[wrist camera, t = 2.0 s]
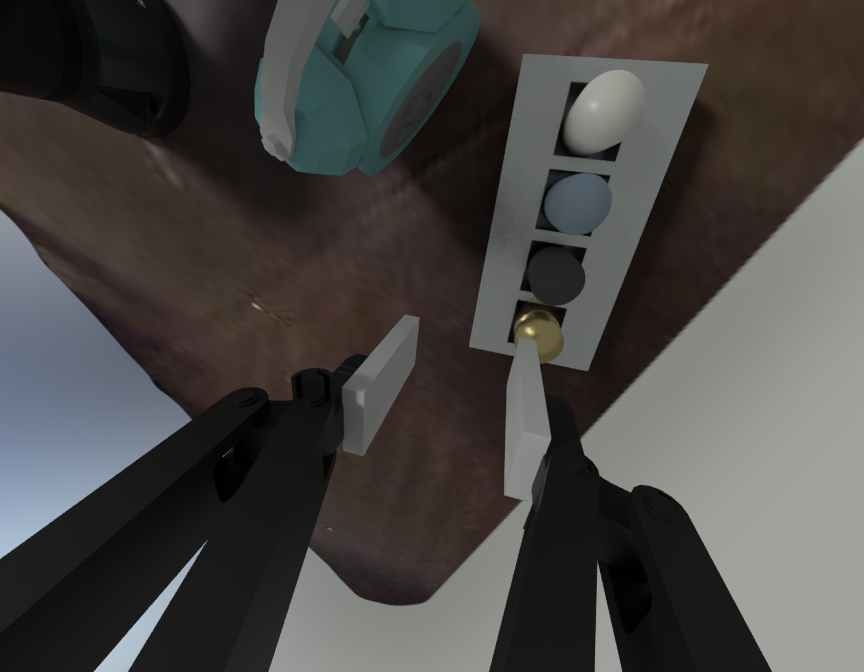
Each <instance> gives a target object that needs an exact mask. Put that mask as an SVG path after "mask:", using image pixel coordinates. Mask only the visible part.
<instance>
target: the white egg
mask: <svg viewBox="0 0 864 672" xmlns="http://www.w3.org/2000/svg"><path fill="white" fill-rule="evenodd" d="M644 106H645V92H644V88H643V86H642V84H641V82H640V80H639V79H638V78H637V77H636V76H635V75H634V74H632V73H630V72H627V71H624V70H613V71H609V72H605V73H603V74H601V75H599V76H598V77H596V78H595V79H593V80H592V81H591V82H590V83H589V84H588V85H587V86H586V87H585V88H584V90H583V91H582V93H581V94H580V95H579V97H578V98H577V100H576V101H575V102H574V104H573V105H572V107H571V108H570V110H569V111H568V112H567V114H566V116H565V118H564V120H563V123H562V128H561V137H562V142H563V144H564V146H565V148H566V149H567V150H568V151H569V152H570V153H572V154H574V155H576V156H581V157H585V156H590V155H593V154H596V153H598V152H600V151H602V150H605V149H607V148H609V147H611V146H614V145H616V144H618V143H620V142H621V141H623V140H624V139H625V138H626V137H628V136H629V135H630V134H631V133H632V131H633V130H634V129H635V128H636V126H637V125H638V123H639V121H640V119H641V117H642V114H643V111H644Z"/></svg>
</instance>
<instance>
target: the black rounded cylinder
mask: <svg viewBox="0 0 864 672" xmlns="http://www.w3.org/2000/svg"><path fill="white" fill-rule="evenodd" d="M527 271H528V276H529V281H530V286H531V290H532V293H533V294H534V296H535V297H536V298H537V299H538V300H539V301H540V302H542V303H544V304H547V305H551V306H559V305H564V304H567V303H569V302H571V301H573V300H574V299H575V298H576V297H577V296H578V295H579V294H580V293H581V291H582V290H583V288H584V285H585V279H586V277H585V271H584V269H583V267H582V265H581V264H580V263H579V262H578V261H577V259H576V258H575V257H574V256H573V255H572V254H571V253H570V252H569V251H568V250H567V249H566V248H564V247H563V246H560V245H557V244H548V245H544V246H542V247H540V248H538V249H537V250H536V251H535V252H533V254H532V255H531V257H530V258H529V261H528V265H527Z"/></svg>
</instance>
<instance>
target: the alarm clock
mask: <svg viewBox="0 0 864 672" xmlns="http://www.w3.org/2000/svg"><path fill="white" fill-rule="evenodd" d="M481 18H482V15H481V13H480V12H479V11H478V10H477V8H476V7H475V6H474V5H473V3H472V2H471V1H470V0H278V2H277V5H276V8H275V11H274V15H273V18H272V21H271V24H270V27H269V30H268V33H267V36H266V39H265V48H264V57H263V58H262V59H261V60H260V65H259V70H258V75H257V80H256V85H255V118H256V120H257V122H258V124H259V126H260V133H261V135H262V138H263V139H262V143H263V145H264V148H265V150H266V151H267V152H269V153H270V154H271V155H272V156H276V157H277V158H278V159H279V160H280V161H283V160H285V161H286V162H287V163H288V164H289V165H290V166H291V167H292V168H293V169H295V170H296V171H297V172H305V173H313V174H324V175H335V176H342V175H344V174H346V173H347V172H349V171H351V170H352V169H354V168H355V167H358V168H359V169H360V170H361V171H362V172H363V173H364V174H366V175H367V176H369V177H371V176H373V175H374V174H376V173H378V172H380V171H382V170H383V169H384V168H385V167H386V166H387V165H389V164H390V163H391V162H392V161H393V160H394V159H395V158H396V157H397V156H398V155H399V154H400V153H401V152H402V151H403V150H404V148H405V147H406V146H407V145H408V144H409V143H410V142H411V141H412V140H413V138H414V137H415V136H416V135H417V133H418V132H419V131H420V129H421V128H422V127H423V125H424V124H425V123H426V122H427V120H428V119H429V118H430V116H431V115H432V114H433V112H434V111H435V109H436V108H437V106H438V105H439V103H440V102H441V100H442V99H443V97H444V96H445V94H446V93H447V91H448V90H449V88H450V87H451V85H452V83H453V82H454V80H455V78H456V76H457V75H458V73H459V71H460V70H461V68H462V66H463V64H464V63H465V61H466V59H467V56H468V54H469V52H470V50H471V48H472V46H473V44H474V41H475V39H476V37H477V34H478V30H479V26H480V22H481Z"/></svg>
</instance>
